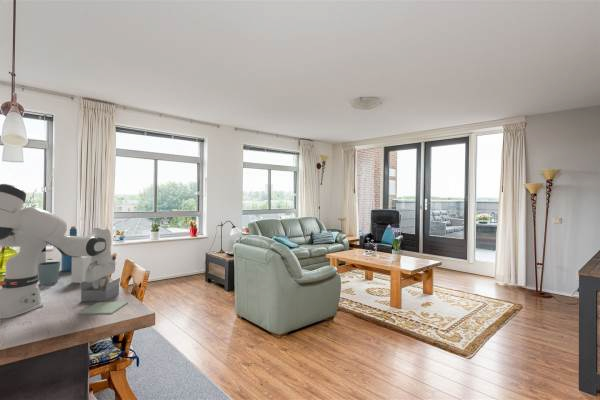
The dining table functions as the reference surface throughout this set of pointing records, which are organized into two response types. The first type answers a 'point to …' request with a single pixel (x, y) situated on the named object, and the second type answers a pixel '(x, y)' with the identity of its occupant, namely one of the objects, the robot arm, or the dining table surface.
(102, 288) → the box
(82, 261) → the milk carton
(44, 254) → the travel mug
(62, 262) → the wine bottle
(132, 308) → the dining table surface
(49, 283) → the grey-green plant pot
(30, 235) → the robot arm
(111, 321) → the dining table surface
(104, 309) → the sage mat
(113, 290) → the storage tote
